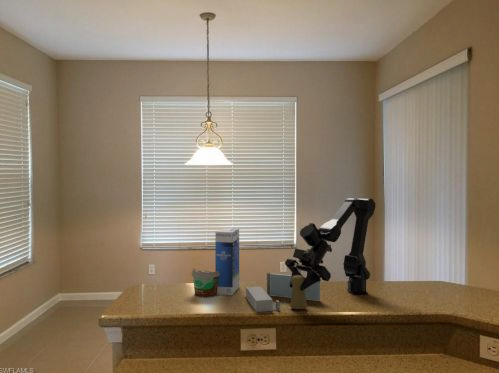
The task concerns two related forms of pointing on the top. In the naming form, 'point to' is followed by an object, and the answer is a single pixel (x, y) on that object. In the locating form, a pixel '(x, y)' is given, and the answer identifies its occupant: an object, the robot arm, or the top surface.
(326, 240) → the robot arm
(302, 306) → the beige waisted cylinder
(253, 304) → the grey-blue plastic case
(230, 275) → the string lights box
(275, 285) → the cover
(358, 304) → the top surface
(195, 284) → the food container
